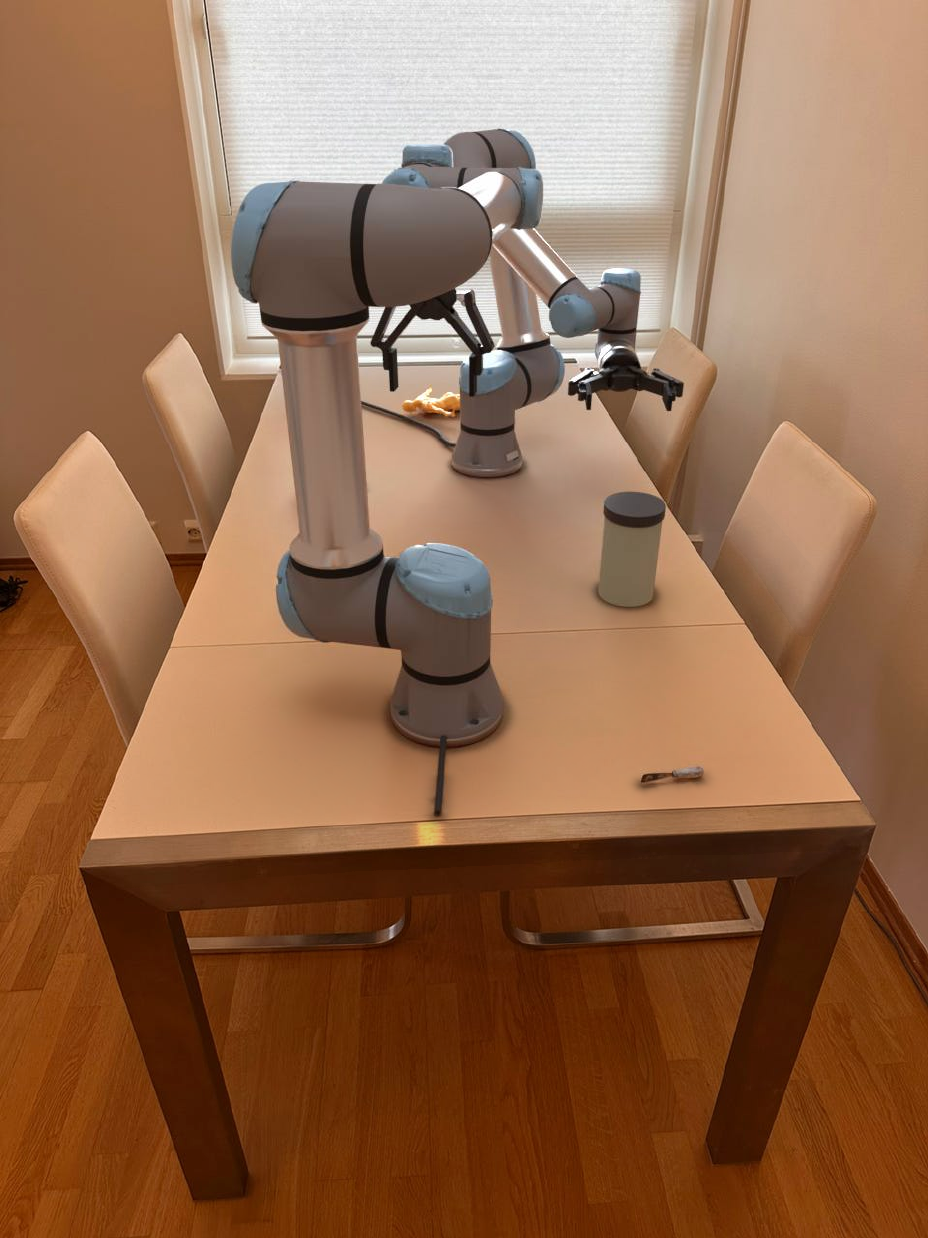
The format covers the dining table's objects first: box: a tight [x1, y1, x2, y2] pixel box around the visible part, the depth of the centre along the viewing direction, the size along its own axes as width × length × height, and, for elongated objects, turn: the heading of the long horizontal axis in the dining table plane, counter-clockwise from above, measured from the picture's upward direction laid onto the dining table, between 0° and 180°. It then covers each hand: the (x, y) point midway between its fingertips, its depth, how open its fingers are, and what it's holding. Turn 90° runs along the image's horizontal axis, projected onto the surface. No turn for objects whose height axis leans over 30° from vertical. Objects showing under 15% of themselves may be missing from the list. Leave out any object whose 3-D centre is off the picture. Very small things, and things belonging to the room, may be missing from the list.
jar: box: [597, 516, 663, 608], centre depth 144 cm, size 9×9×16 cm
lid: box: [602, 491, 667, 527], centre depth 140 cm, size 10×10×2 cm
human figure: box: [402, 385, 460, 418], centre depth 225 cm, size 20×20×4 cm
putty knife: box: [640, 765, 705, 784], centre depth 109 cm, size 1×8×2 cm, turn 103°
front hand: (433, 391), depth 149 cm, fingers open, 13 cm apart
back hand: (629, 402), depth 152 cm, fingers open, 13 cm apart
